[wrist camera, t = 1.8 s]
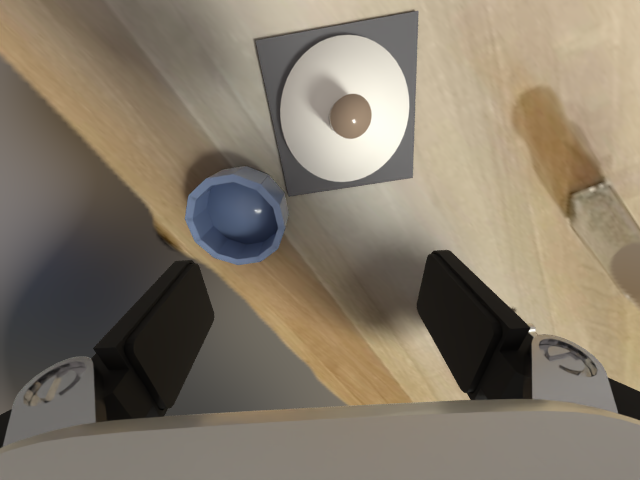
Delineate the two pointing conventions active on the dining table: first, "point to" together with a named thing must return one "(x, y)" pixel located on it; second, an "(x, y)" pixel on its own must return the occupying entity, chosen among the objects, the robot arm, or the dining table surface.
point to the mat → (288, 49)
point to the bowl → (238, 215)
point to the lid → (344, 108)
